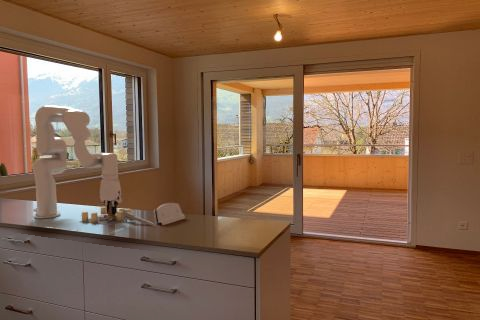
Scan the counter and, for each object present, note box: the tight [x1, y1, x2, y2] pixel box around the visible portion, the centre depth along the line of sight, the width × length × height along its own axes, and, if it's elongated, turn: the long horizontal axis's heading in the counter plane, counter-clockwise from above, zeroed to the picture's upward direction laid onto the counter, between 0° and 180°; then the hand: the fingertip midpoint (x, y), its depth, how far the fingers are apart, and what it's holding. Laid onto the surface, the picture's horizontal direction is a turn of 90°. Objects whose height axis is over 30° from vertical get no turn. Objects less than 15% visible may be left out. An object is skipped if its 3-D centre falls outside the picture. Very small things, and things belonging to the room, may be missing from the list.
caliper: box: [122, 210, 157, 227], centre depth 176 cm, size 20×1×6 cm, turn 67°
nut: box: [97, 213, 110, 220], centre depth 184 cm, size 5×6×2 cm
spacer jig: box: [79, 206, 132, 226], centre depth 183 cm, size 20×18×5 cm
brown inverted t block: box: [104, 201, 116, 219], centre depth 182 cm, size 3×7×9 cm, turn 158°
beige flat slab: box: [153, 202, 186, 226], centre depth 182 cm, size 17×5×10 cm, turn 146°
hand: (111, 213), depth 182 cm, fingers closed on brown inverted t block, 2 cm apart
